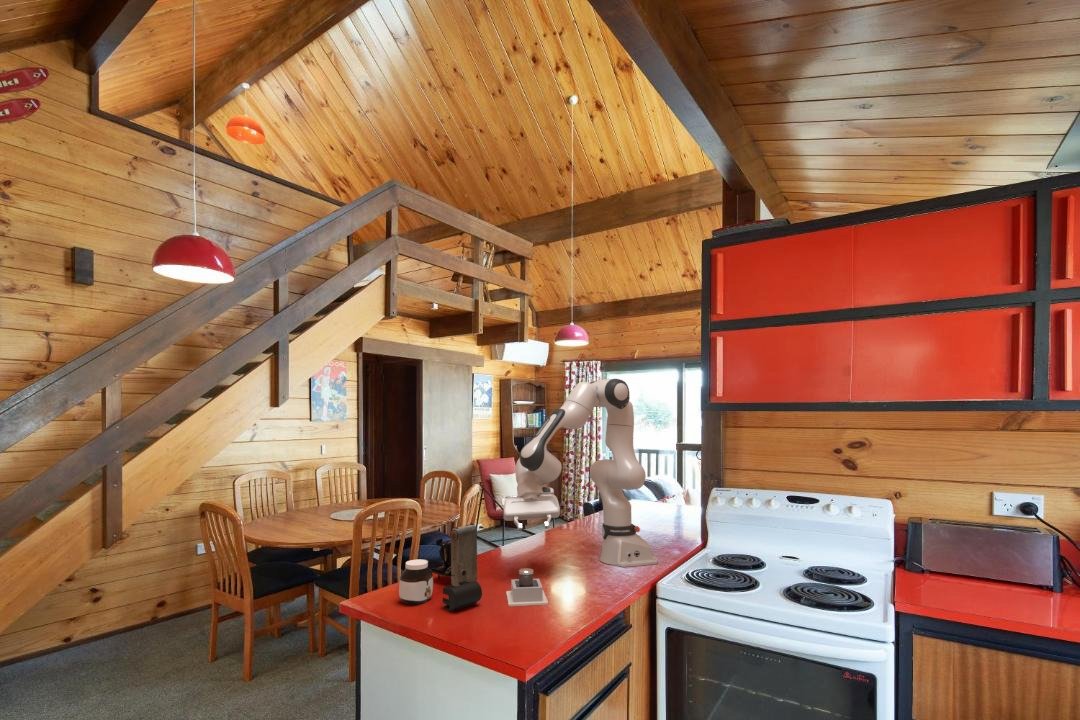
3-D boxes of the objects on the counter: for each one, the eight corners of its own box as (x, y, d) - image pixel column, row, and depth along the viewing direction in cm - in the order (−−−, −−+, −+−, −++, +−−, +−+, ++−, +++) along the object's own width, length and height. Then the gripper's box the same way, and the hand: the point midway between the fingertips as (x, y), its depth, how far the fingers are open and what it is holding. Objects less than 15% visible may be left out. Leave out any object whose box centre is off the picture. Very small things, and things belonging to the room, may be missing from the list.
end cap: (456, 615, 156) (456, 590, 156) (441, 608, 161) (441, 585, 161) (482, 606, 163) (482, 582, 164) (467, 600, 168) (467, 578, 169)
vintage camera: (446, 576, 194) (445, 519, 196) (478, 582, 185) (477, 523, 187) (426, 583, 186) (425, 524, 188) (458, 590, 177) (457, 528, 179)
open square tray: (543, 591, 176) (543, 577, 176) (548, 604, 164) (548, 588, 164) (506, 593, 174) (506, 578, 175) (508, 606, 163) (508, 590, 163)
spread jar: (412, 608, 161) (413, 568, 162) (386, 601, 167) (387, 562, 168) (440, 596, 171) (441, 559, 172) (415, 590, 177) (415, 553, 178)
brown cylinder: (532, 594, 172) (532, 568, 173) (533, 598, 167) (534, 572, 168) (518, 594, 171) (518, 568, 172) (519, 599, 167) (519, 572, 168)
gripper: (501, 491, 194) (503, 525, 183) (557, 488, 196) (563, 521, 186) (501, 501, 198) (503, 535, 187) (556, 498, 200) (561, 531, 190)
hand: (533, 528), depth 187 cm, fingers open, 8 cm apart
